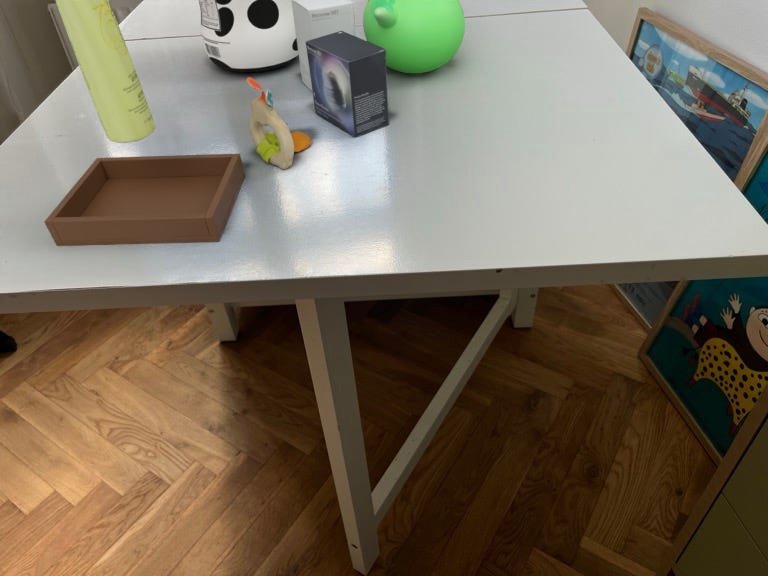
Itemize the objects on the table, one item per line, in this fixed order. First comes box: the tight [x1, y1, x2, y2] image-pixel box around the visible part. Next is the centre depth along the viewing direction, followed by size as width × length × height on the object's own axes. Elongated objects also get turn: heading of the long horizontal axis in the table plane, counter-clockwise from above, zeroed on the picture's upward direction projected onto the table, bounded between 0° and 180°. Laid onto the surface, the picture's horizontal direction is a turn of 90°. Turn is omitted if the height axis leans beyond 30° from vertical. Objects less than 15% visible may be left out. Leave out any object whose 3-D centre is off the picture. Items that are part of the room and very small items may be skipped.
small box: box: [305, 31, 390, 138], centre depth 76 cm, size 11×6×10 cm, turn 37°
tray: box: [43, 153, 246, 247], centre depth 63 cm, size 18×14×3 cm
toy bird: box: [362, 0, 466, 74], centre depth 88 cm, size 18×17×15 cm
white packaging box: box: [291, 0, 357, 93], centre depth 85 cm, size 7×7×13 cm
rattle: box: [246, 76, 312, 170], centre depth 68 cm, size 8×8×12 cm
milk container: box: [198, 0, 299, 73], centre depth 93 cm, size 17×17×18 cm
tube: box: [55, 0, 156, 144], centre depth 51 cm, size 6×5×20 cm
